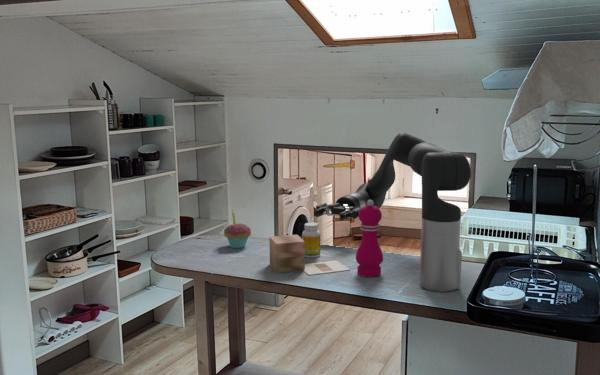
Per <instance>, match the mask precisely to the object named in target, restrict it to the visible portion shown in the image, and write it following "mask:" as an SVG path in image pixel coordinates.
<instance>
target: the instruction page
mask: <svg viewBox="0 0 600 375" xmlns="http://www.w3.org/2000/svg"><path fill="white" fill-rule="evenodd" d="M302 271H303V272H304V273H305V274H307V275H308V276H316V275H322V274H330V273H331V274H332V273H338V272H345V271H351V269H350V268H348V267H347V266H346V265H344V264H343V263H341V262H340V261H338V260H329V261H328V260H327V261H321V262H320V261H319V262H313V263H305V269H304V270H302Z"/></svg>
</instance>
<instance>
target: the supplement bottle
mask: <svg viewBox="0 0 600 375" xmlns="http://www.w3.org/2000/svg"><path fill="white" fill-rule="evenodd" d="M318 229H319V223H317V222H306V223H304V230H303V231H302V234H301V239H302V240H304V241H305V258H307V259H308V258H309V259H310V258H311V259H312V258H313V259H315V258H319V257H320V256H321V231H319V230H318Z"/></svg>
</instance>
